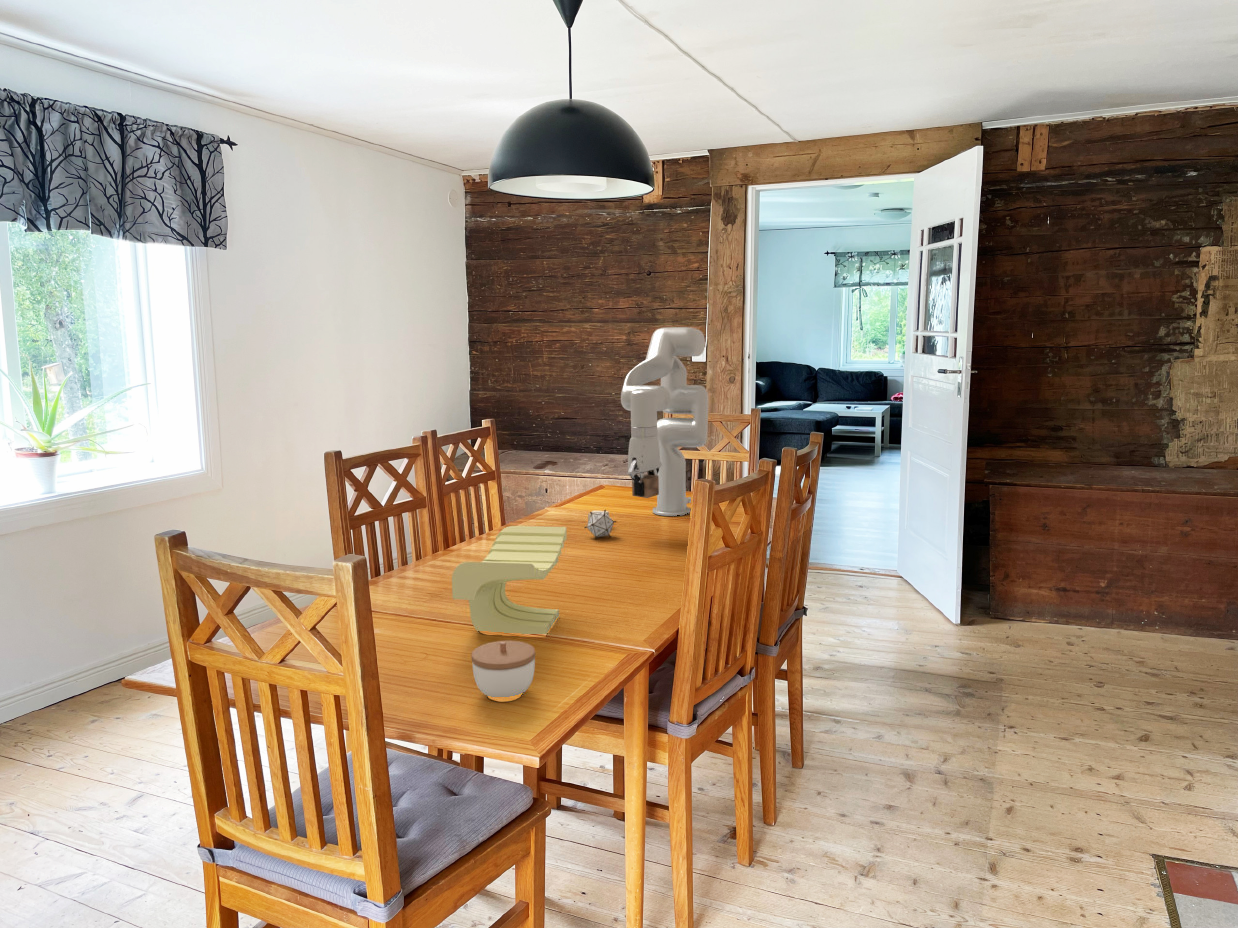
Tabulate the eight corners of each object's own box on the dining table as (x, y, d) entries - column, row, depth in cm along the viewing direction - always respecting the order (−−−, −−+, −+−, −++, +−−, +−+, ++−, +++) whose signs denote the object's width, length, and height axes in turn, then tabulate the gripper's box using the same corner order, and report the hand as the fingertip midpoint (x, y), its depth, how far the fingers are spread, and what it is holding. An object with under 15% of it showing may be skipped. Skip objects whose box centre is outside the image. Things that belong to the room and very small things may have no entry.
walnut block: (643, 492, 255) (643, 473, 254) (658, 494, 252) (658, 475, 251) (632, 495, 251) (632, 477, 250) (647, 498, 248) (647, 479, 246)
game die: (606, 550, 255) (615, 528, 248) (578, 541, 254) (587, 518, 248) (612, 530, 261) (621, 507, 255) (585, 520, 261) (594, 498, 254)
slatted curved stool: (500, 601, 197) (497, 525, 194) (568, 603, 195) (566, 526, 192) (455, 649, 168) (450, 561, 165) (534, 653, 166) (531, 563, 163)
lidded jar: (461, 703, 144) (458, 649, 143) (492, 678, 154) (490, 628, 153) (518, 712, 140) (516, 657, 139) (547, 686, 150) (545, 635, 149)
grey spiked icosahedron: (593, 526, 270) (593, 510, 269) (609, 527, 269) (608, 511, 268) (588, 529, 265) (588, 514, 265) (603, 530, 264) (603, 514, 263)
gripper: (651, 427, 257) (652, 486, 260) (615, 435, 243) (617, 497, 247) (672, 428, 252) (672, 489, 256) (637, 437, 239) (638, 501, 242)
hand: (645, 492), depth 251 cm, fingers closed on walnut block, 5 cm apart
